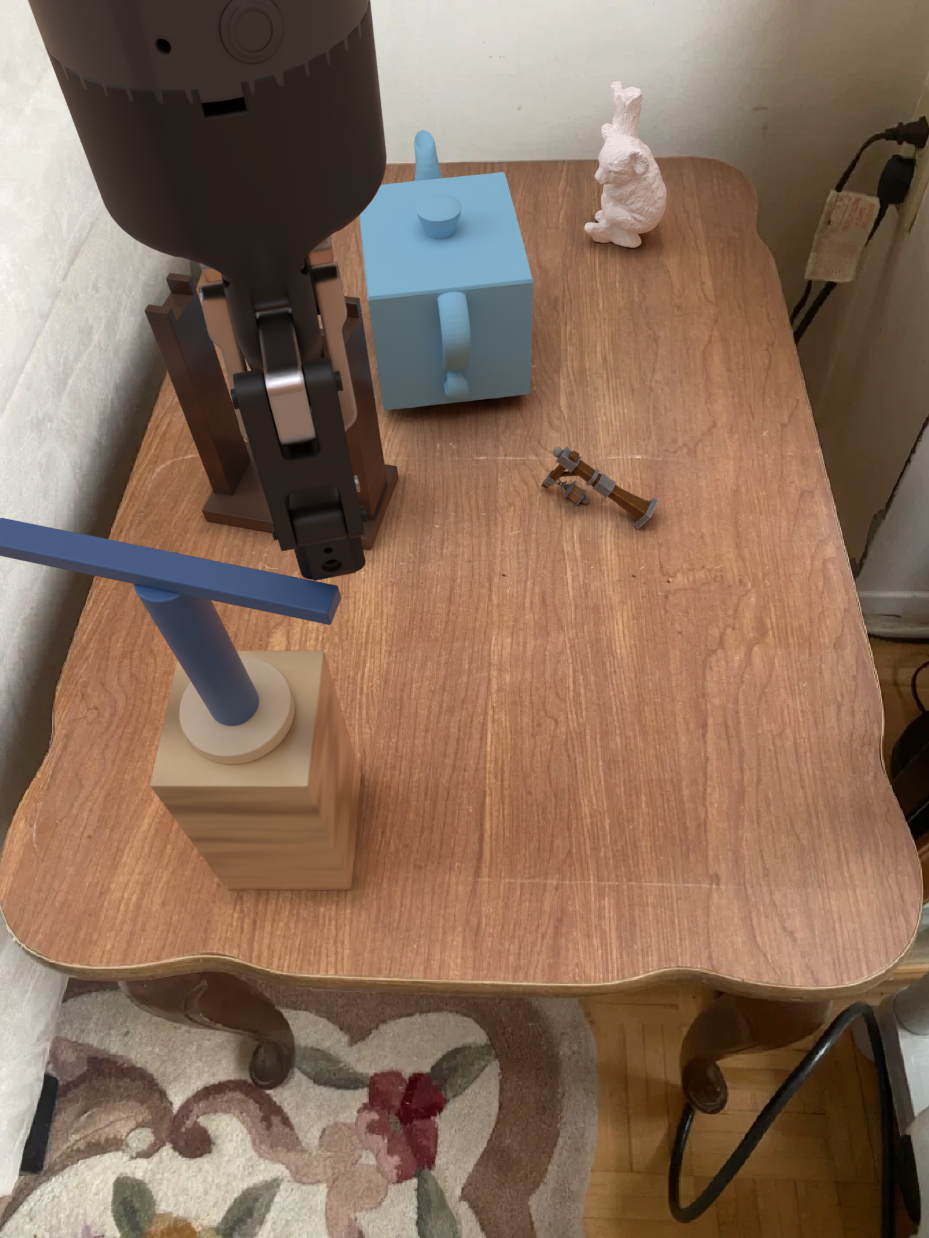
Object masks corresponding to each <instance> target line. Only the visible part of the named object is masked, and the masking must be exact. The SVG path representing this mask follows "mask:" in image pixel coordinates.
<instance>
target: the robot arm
mask: <svg viewBox="0 0 929 1238" xmlns="http://www.w3.org/2000/svg"><path fill="white" fill-rule="evenodd" d="M27 2H28V5H29V8H30V10H31V13H32V15H33V19H34V22H35V23H36V26H37V29H38V31H39V35H40V37H41V39H42V42H43V45H44V48H45V50H46V53H47V56H48V58H49V61H50V64H51V66H52V69H53V72H54V74H55V77H56V79H57V82H58V84H59V88H60V90H61V93H62V95H63V98H64V101H65V103H66V106H67V108H68V111H69V114H70V117H71V119H72V122H73V125H74V127H75V130H76V133H77V136H78V138H79V141H80V144H81V147H82V149H83V151H84V154H85V157H86V159H87V162H88V165H89V168H90V170H91V173H92V176H93V179H94V182H95V184H96V188H97V190H98V192H99V194H100V197H101V201H102V202H103V204H104V207H105V209H106V211H107V213H108V214H109V216H110V217H111V218H112V220H113V221H114V223H116V225H117V226H118V227H119V228H120V229H121V230H122V231H124V232H125V233H126V234H127V235H128V236H130V237H131V238H132V239H134V240H135V241H137V242H138V243H140V244H142V245H144V246H146V247H148V248H150V249H152V250H154V251H157V252H159V253H161V254H165V255H168V256H171V257H175V258H182V259H186V260H188V261H191V262H195V263H198V264H199V267H200V270H201V273H202V275H203V276H204V278H205V282H200V283H197V287H198V296H199V299H200V302H201V305H202V309H203V314H204V318H205V322H206V326H207V331H208V334H209V337H210V339H211V340H212V341H213V343H214V345H216V346H217V347H218V348H219V349H220V352H221V355H222V358H223V359H222V360H223V363H224V367H225V371H226V376H227V380H228V385H229V393H230V397H231V400H232V403H233V406H234V409H235V412H236V415H237V419H238V423H239V428H240V431H241V434H242V436H243V437H244V440H245V441H246V442H249V444H250V447H251V451H252V454H253V457H254V461H255V464H256V467H257V471H258V474H259V477H260V481H261V484H262V488H263V491H264V494H265V498H266V501H267V504H268V508H269V511H270V515H271V518H272V521H273V523H271V530H272V533H271V534H272V539H273V541H278V544H279V545H278V546H279V548H280V551H281V552H285V551H286V552H287V551H291V550H293V551H294V555H295V558H296V561H297V566H298V568H299V572H300V574H301V575H300V576H302V577H303V579H307V580H312V581H321V580H327V579H331V578H336V577H343V576H347V575H352V574H356V572H359V571H361V570H362V569H363V568H364V567H365V565H366V557H365V551H364V549H363V546H362V541H361V536H365V533H364V528H363V523H368V522H367V516H366V511H365V507H364V506H360V507H359V501H358V496H357V492H361V491H360V486H359V481H358V476H357V475H356V476H354V475H353V470H352V464H351V459H350V454H349V449H348V443H347V438H346V430H347V429H348V428H349V427H350V426H352V425H353V424H354V422H355V420H356V418H357V407H356V402H355V396H354V391H353V386H352V381H351V376H350V370H349V365H348V360H347V355H346V350H345V344H344V339H343V334H342V327H343V324H344V323H345V321H346V318H347V308H346V302H345V297H344V296H345V293H344V287H343V281H342V277H341V272H340V267H339V263H338V260H334V259H335V258H334V250H333V249H334V248H333V243H332V237H331V236H332V235H334V234H335V233H337V232H340V231H342V230H343V229H345V228H346V227H348V226H349V225H350V224H351V223H353V222H354V221H355V220H357V218H359V215H360V214H361V213H362V212H363V211H364V210H365V209H366V208H367V206H368V205H369V204H370V203H371V201H372V200H373V198H374V197H375V195H376V194H377V192H378V190H379V188H380V186H381V185H382V183H383V181H384V177H385V175H386V174H385V173H386V169H387V147H386V138H385V137H386V136H385V128H384V118H383V106H382V99H381V89H380V78H379V68H378V59H377V50H376V41H375V40H376V39H375V32H374V31H375V30H374V22H373V21H374V20H373V13H372V12H373V11H372V4H371V3H372V2H371V0H27ZM319 316H320V321H321V325H322V326H321V325H320V321H319ZM321 327H322V329H323V331H324V337H325V342H326V347H327V352H328V357H327V358H325V354H324V348H323V342H322V337H321V331H320V328H321ZM247 365H248V366H247ZM248 367H249V370H248Z"/></svg>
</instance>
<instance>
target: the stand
mask: <svg viewBox="0 0 929 1238" xmlns="http://www.w3.org/2000/svg"><path fill="white" fill-rule="evenodd" d="M165 280H166V282H167V286H168V290H169V291H170V293H169V294H168V295H167V297H166V299H165V300H164V302H163V303H162V305H158V304H157V305H156V304H147V305H146V307H145V309H144V314H145V316H146V319H147V321H148V324H149V327H150V329H151V331H152V334H153V337H154V339H155V342H156V344H157V347H158V350H159V352H160V355H161V358H162V360H163V361H162V362H163V364H164V365H165V369H166V371H167V373H168V376H169V379H170V382H171V384H172V387H173V390H174V392H175V395H176V397H177V400H178V402H179V405H180V408H181V410H182V413H183V415H184V418H185V421H186V424H187V427H188V429H189V432H190V435H191V437H192V439H193V442H194V444H195V445H194V446H195V447H196V450H197V452H198V455H199V458H200V461H201V463H202V466H203V469H204V471H205V473H206V476H207V480H208V481H209V485H210V488H211V491H210V494H209V496H208V498H207V500H206V501H205V503H204V505H203V506H202V509H201V511H202V515H203V517H204V519H205V521H206V522H209V523H210V522H211V523H216V524H221V525H227V526H232V527H237V528H244V529H249V530H256V531H262V532H267V533H271V534H272V530H271V523H273V521H272V518H271V515H270V511H269V508H268V504H267V501H266V498H265V494H264V491H263V488H262V484H261V481H260V477H259V474H258V471H257V467H256V464H255V461H254V457H253V454H252V451H251V447H250V444H249V442H248V441H246V440H245V438H244V437H243V436H242V434H241V431H240V428H239V423H238V419H237V415H236V410H235V409H234V406H233V402H232V398H231V392H230V389H229V387H228V384H227V382H226V377H225V375H224V372H223V369H222V366H221V363H220V359H219V356H218V353H217V350H216V346H215V343H214V342H213V341H212V340H211V339H210V337H209V334H208V331H207V326H206V322H205V318H204V314H203V309H202V305H201V301H200V296H199V292H198V290H197V287H196V283H195V280H194V276H193V275H189V274H181V273H175V272H169V273H168V274H167V276H166V277H165ZM344 297H345V302H346V308H347V318H346V321H345V323H344V324H343V327H342V334H343V339H344V344H345V350H346V355H347V360H348V365H349V370H350V376H351V381H352V386H353V391H354V396H355V402H356V407H357V418H356V420H355V422H354V424H353V425H352V426H350V427H349V428H348V429H347V430H346V438H347V443H348V449H349V454H350V459H351V464H352V470H353V475H354V476H356V475H357V476H358V481H359V486H360V491H361V492H357V496H358V501H359V507H360V506H364V507H365V511H366V516H367V522H368V523H363V528H364V533H365V536H361V541H362V546H363V550H367V551H371V550H372V548H373V545H374V542H375V540H376V538H377V535H378V532H379V530H380V527H381V524H382V522H383V519H384V516H385V514H386V511H387V508H388V506H389V503H390V501H391V498H392V495H393V493H394V490H395V487H396V485H397V483H398V480H399V471H398V470H399V469H398V466H397V465H394V464H393V465H392V464H387V463H385V457H384V456H385V455H384V450H383V444H382V438H381V437H382V436H381V430H380V424H379V417H378V412H377V405H376V398H375V391H374V385H373V378H372V371H371V364H370V359H369V358H370V357H369V352H368V346H367V345H368V343H367V338H366V331H365V326H364V325H365V324H364V319H363V312H362V305H361V299H360V297H355V296H349V295H344ZM320 331H321V337H322V342H323V348H324V354H325V358H327V357H328V352H327V347H326V342H325V337H324V331H323V328H321V327H320Z"/></svg>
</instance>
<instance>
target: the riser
mask: <svg viewBox="0 0 929 1238" xmlns="http://www.w3.org/2000/svg"><path fill="white" fill-rule="evenodd" d="M236 651H237V653H238V655H239V656H250V657H256V658H259V659H263V660H265V661H267V662H269V663H271V664H272V665H274V666H275V667H276V668H278V669H279V670H280V671H281V673H282V674H283V675H284V677H285V678H286V680H287V682H288V684H289V687H290V689H291V691H292V694H293V698H294V704H295V712H294V718H293V721H292V725H291V727H290V729H289V731H288V733H287V734H286V736H285V738H284V739H283V740H282V741H281V743H280V744H279V745H278V746H277V747H276V748H275V749H273V750H272V751H271V752H269V753H268V754H266V755H265V756H263V757H261V758H259V759H257V760H254V761H251V762H248V763H243V764H222V763H217V762H214V761H211V760H209V759H207V758H205V757H204V756H202V755H201V754H200V753H198V752H197V751H196V750H195V748H194V747H193V746H192V745H191V743H190V742H189V740H188V739H187V738H186V736H185V734H184V732H183V730H182V727H181V724H180V716H179V711H180V704H181V700H182V697H183V694H184V692H185V690H186V688H187V687H188V685H189V684H190V682H191V681H190V679H189V678H188V676H187V674H186V673H185V671H184V669H183V668H182V666H181V665H180V663H179V661H178V660H177V659H176V663H175V669H174V673H173V678H172V682H171V686H170V692H169V695H168V701H167V706H166V709H165V714H164V719H163V724H162V727H161V733H160V738H159V741H158V746H157V751H156V756H155V760H154V765H153V769H152V770H153V771H152V774H151V778H150V783H149V787H150V788H151V790H152V791H153V792H154V793H155V795H156V796H157V797H158V799H159V800H160V802H161V803H162V805H163V806H164V807H165V809H166V810H167V811H168V813H169V814H170V815H171V816H172V818H173V819H174V821H175V822H176V823H177V824H178V825H179V828H180V829H181V830H182V831H183V832H184V834H185V835H186V836H187V837H188V839H189V840H190V842H191V843H192V845H193V846H194V847H195V848H196V850H197V851H198V853H199V854H200V855H201V856H202V858H203V859H204V861H205V862H206V864H207V865H208V866H209V867H210V868H211V870H212V871H213V873H214V874H215V875H216V876H217V878H218V879H219V881H220V882H221V884H222V885H223V886H224V887H225V889H227V890H243V891H244V890H245V891H246V890H247V891H248V890H249V891H250V890H251V891H252V890H253V891H254V890H256V891H257V890H259V891H260V890H261V891H265V890H266V891H351V890H352V887H353V886H352V885H353V876H354V875H353V872H354V862H355V850H356V840H357V839H356V838H357V829H358V828H357V827H358V816H359V802H360V793H361V781H362V780H361V779H362V774H361V770H360V767H359V764H358V760H357V757H356V753H355V750H354V747H353V744H352V743H353V742H352V740H351V737H350V733H349V730H348V725H347V723H346V720H345V716H344V713H343V710H342V706H341V703H340V700H339V696H338V693H337V689H336V686H335V682H334V680H333V676H332V673H331V670H330V666H329V662H328V660H327V656H326V652H325V651H324V649H323V650H321V649H319V650H318V649H317V650H316V649H314V650H308V649H307V650H305V649H304V650H301V649H300V650H297V649H294V650H290V649H289V650H236Z"/></svg>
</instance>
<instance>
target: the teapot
mask: <svg viewBox="0 0 929 1238" xmlns="http://www.w3.org/2000/svg"><path fill="white" fill-rule="evenodd" d="M413 146H414V159H415V160H414V161H415V162H414V163H415V164H414V165H415V169H414V170H415V171H414V180H412V181H403V182H395V183H394V182H393V183H385V184H381V186H380V188H379V190H378V192H377V194H376V195H375V197H374V198H373V200H372V201H371V203H370V204H369V205H368V206H367V208H366V209H365V210H364V211H363V212H362V213H361V214H360V215H359V216H358V218H359V227H360V237H361V238H360V239H361V245H362V246H361V247H362V257H363V265H364V276H365V285H366V294H367V303H368V311H369V318H370V325H371V332H372V339H373V346H374V353H375V359H376V366H377V374H378V380H379V387H380V388H379V389H380V394H381V402H382V409H383V411H391V410H400V409H414V408H418V407H427V406H436V405H437V406H438V405H445V404H446V405H447V404H453V403H454V404H455V403H463V402H471V401H472V402H473V401H479V400H487V399H488V400H489V399H501V398H505V397H506V398H507V397H517V396H524V395H525V396H526V395H531V385H532V384H531V383H532V353H533V352H532V350H533V319H534V318H533V317H534V315H533V314H534V284H535V283H534V278H533V274H532V270H531V267H530V263H529V260H528V255H527V252H526V247H525V243H524V241H523V236H522V233H521V229H520V224H519V221H518V217H517V214H516V210H515V206H514V202H513V198H512V195H511V190H510V187H509V184H508V183H509V182H508V180H507V175H506V173H505V172H504V171H499V172H493V173H483V174H482V173H481V174H472V175H461V176H451V177H443V175H442V171H441V166H440V163H439V158H438V153H437V146H436V142H435V139H434V137H433V135H432V133H431V132H430V131H428V130H426V129H421V130H419V131H417V132H416V134H415V136H414V140H413Z"/></svg>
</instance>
